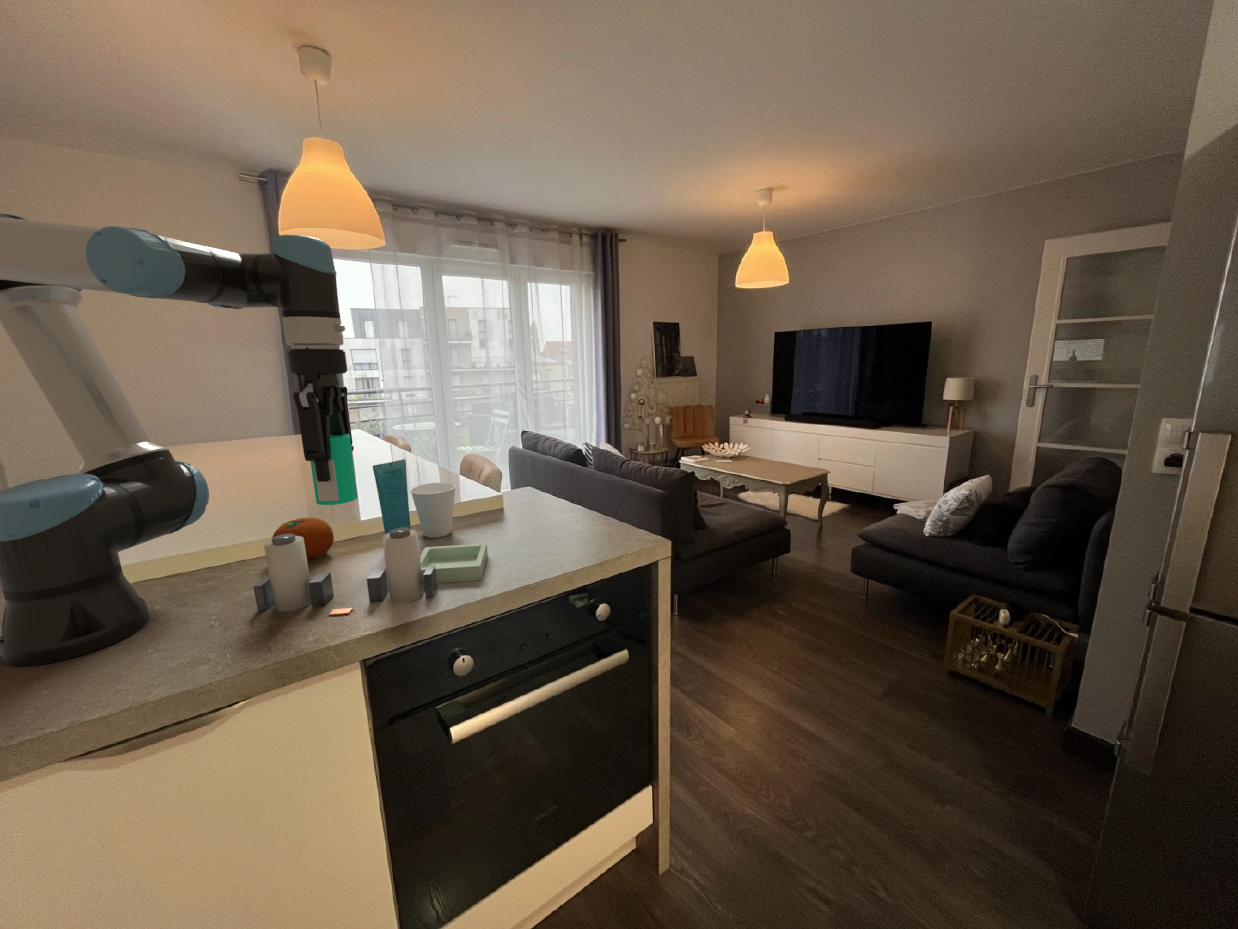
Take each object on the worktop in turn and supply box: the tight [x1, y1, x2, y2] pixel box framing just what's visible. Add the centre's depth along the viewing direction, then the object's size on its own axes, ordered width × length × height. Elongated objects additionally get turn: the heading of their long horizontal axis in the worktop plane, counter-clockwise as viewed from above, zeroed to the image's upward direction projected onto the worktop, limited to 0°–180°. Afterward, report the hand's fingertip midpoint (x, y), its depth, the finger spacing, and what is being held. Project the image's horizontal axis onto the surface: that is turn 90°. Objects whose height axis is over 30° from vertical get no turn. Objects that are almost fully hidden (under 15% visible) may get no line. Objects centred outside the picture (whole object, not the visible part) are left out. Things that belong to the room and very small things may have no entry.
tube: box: [372, 458, 412, 535], centre depth 103 cm, size 7×5×19 cm, turn 156°
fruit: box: [271, 517, 335, 561], centre depth 101 cm, size 11×10×8 cm
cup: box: [409, 482, 457, 539], centre depth 114 cm, size 10×10×11 cm
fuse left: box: [263, 534, 311, 613], centre depth 82 cm, size 5×5×12 cm
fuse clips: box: [253, 566, 438, 617], centre depth 82 cm, size 27×7×4 cm, turn 98°
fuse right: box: [382, 527, 425, 604], centre depth 84 cm, size 5×5×12 cm
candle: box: [309, 434, 359, 506], centre depth 79 cm, size 6×6×12 cm
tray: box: [420, 543, 489, 585], centre depth 95 cm, size 12×11×3 cm
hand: (336, 495), depth 80 cm, fingers closed on candle, 5 cm apart
